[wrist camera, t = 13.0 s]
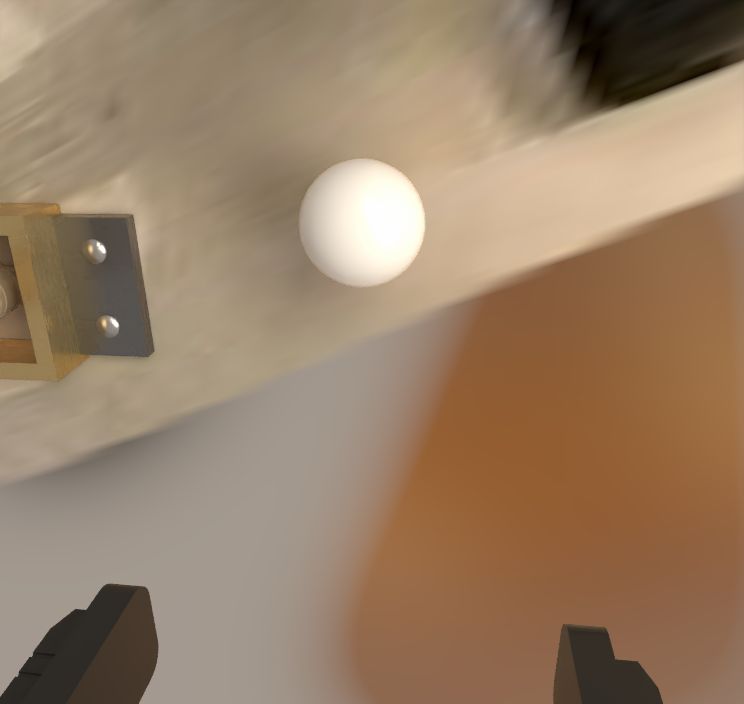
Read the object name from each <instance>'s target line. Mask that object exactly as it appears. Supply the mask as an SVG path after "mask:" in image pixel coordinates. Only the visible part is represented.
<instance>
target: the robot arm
mask: <svg viewBox="0 0 744 704" xmlns="http://www.w3.org/2000/svg"><path fill="white" fill-rule="evenodd" d="M157 658H158V639H157V634H156V629H155V623H154V617H153V612H152V606H151V601H150V595H149V592H148V590H147V588H146V587H143V586H130V585H119V584H106V585H105V586H103V587H102V589H101V590H100V591H99V593H98V594H97V595H96V597H95V598H94V600H93V601H92V603H91V604H90V605H89V607H88V608H87V610H79V609H75V610H74V611H72V612H71V613H70V614H69V615H67V616H66V617H65V618H63V619H62V620H61V621H60V622H58V623H57V624H56V625H55V626H53V627H52V628H51V629H50V630H49V632H48V633H47V634H46V635H45V637H44V638H43V640H42V641H41V642H40V644H39V645H38V646H37V648H36V649H35V651H34V652H33V656H32V657H29V659H28V660H27V661H26V663H25V664H24V666H23V667H22V668H21V670H20V671H19V675H18V677H15V678H14V679H13V680H12V682H11V683H10V685H9V686H8V687H7V689H6V690H5V691H4V693H3V694H2V695H1V697H0V704H139V702H140V700H141V698H142V696H143V694H144V692H145V690H146V688H147V686H148V684H149V682H150V680H151V678H152V676H153V673H154V670H155V667H156V663H157ZM553 697H554V698H553V700H554V704H663V702H662V699H661V695H660V692H659V689H658V687H657V686H656V685H655V683H654V682H653V681H652V679H651V678H650V677H649V676H648V674H647V673H646V672H645V670H644V669H643V668H642V667H641V665H640V664H639V663H638V662H637V661H626V660H615V656H614V653H613V649H612V645H611V642H610V638H609V634H608V632H607V630H606V628H605V627H595V626H583V625H572V624H563V626H562V630H561V636H560V643H559V650H558V658H557V665H556V672H555V680H554V692H553Z"/></svg>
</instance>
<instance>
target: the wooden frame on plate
mask: <svg viewBox="0 0 744 704" xmlns="http://www.w3.org/2000/svg"><path fill="white" fill-rule="evenodd" d="M0 236H8V240H9V245H10V249H11V253H12V258H13V262H14V266H15V270H16V275H17V279H18V283H19V288H20V292H21V296H22V301H23V305H24V309H25V313H26V318H27V322H28V326H29V331H30V335H31V339H32V340H19V339H0V379H18V380H42V381H59V380H60V379H62V378H63V377H64V376H65V375H67V374H68V373H69V372H71V371H72V370H73V369H75V368H76V367H77V366H78V365H80V364H81V363H82V362H84V361H85V360H86V359H88V358H89V355H111V356H139V357H149V356H150V355H151V354H152V353H153V352H154V346H153V339H152V333H151V326H150V320H149V314H148V307H147V301H146V294H145V288H144V282H143V275H142V269H141V262H140V256H139V249H138V243H137V237H136V230H135V224H134V217H133V215H114V214H61V213H60V208H59V204H0Z"/></svg>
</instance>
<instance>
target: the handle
mask: <svg viewBox="0 0 744 704" xmlns="http://www.w3.org/2000/svg"><path fill="white" fill-rule="evenodd" d="M22 302H23V301H22V296H21V292H20V288H19V283H18V279H17V275H16V270H15V266H6V265H3V264H2V263H0V319H1V318H2V317H3V316H5V315H6V314H7V313H8V312H10V311H12V310H14V309H15V308H17V307H18V306H19V305H20V304H21V303H22Z"/></svg>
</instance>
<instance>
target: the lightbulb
mask: <svg viewBox="0 0 744 704" xmlns="http://www.w3.org/2000/svg"><path fill="white" fill-rule="evenodd" d="M299 234H300V238H301V242H302V245H303V248H304V250H305V252H306V254H307V256H308V257H309V259H310V260H311V262H312V263H313V264H314V266H315V267H316V268H317V269H318V270H319V271H320V272H322V273H323V274H324V275H325V276H327V277H328V278H330V279H332V280H333V281H335V282H338V283H340V284H343V285H346V286H351V287H359V288H366V287H374V286H378V285H381V284H384V283H387V282H389V281H391V280H393V279H394V278H396V277H398V276H399V275H400V274H402V273H403V272H404V271H405V270H406V269H407V268H408V267H409V266H410V265H411V263H412V262H413V261H414V259H415V258H416V256H417V254H418V252H419V250H420V248H421V245H422V242H423V239H424V234H425V212H424V207H423V204H422V201H421V198H420V196H419V194H418V192H417V190H416V188H415V187H414V185H413V184H412V183H411V182H410V180H409V179H408V178H407V177H406V176H405V175H404V174H403V173H401V172H400V171H399V170H397V169H396V168H394V167H393V166H391V165H389V164H387V163H384V162H381V161H378V160H374V159H366V158H358V159H350V160H346V161H342V162H340V163H337V164H335V165H333V166H331V167H329V168H328V169H326V170H325V171H324V172H322V173H321V174H320V175H319V176H318V177H317V178H316V179H315V180H314V181H313V183H312V184H311V185H310V187H309V188H308V190H307V192H306V194H305V196H304V198H303V201H302V204H301V207H300V212H299Z"/></svg>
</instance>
